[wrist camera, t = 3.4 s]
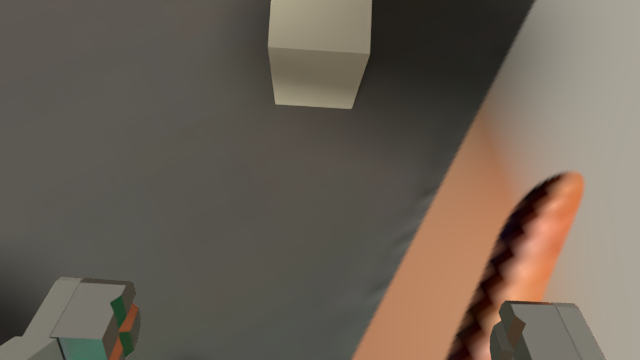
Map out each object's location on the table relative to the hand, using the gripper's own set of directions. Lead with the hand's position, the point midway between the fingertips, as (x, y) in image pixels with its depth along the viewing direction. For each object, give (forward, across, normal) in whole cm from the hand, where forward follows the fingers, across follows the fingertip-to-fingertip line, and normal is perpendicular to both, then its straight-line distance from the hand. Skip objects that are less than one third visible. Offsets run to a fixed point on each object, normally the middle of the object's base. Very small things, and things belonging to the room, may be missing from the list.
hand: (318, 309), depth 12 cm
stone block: (+22, 0, +3) cm, 22 cm away
